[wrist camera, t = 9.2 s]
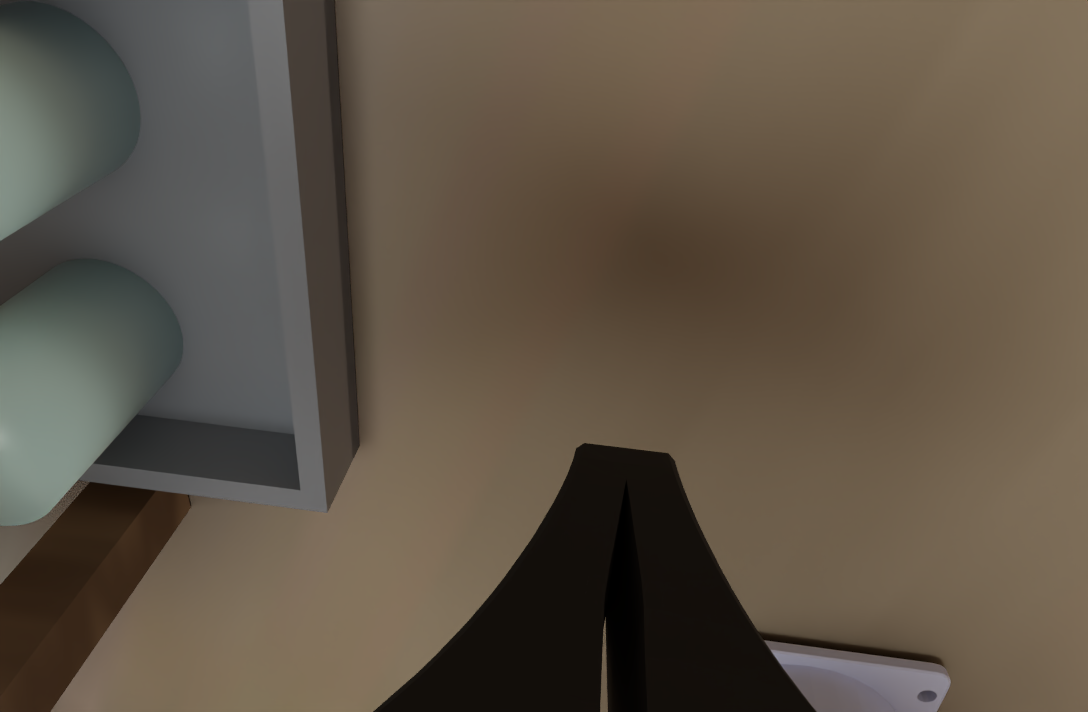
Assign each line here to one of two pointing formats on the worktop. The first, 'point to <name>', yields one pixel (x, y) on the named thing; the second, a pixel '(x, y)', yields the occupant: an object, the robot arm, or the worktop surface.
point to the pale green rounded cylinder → (75, 376)
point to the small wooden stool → (77, 587)
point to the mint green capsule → (58, 110)
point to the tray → (225, 246)
